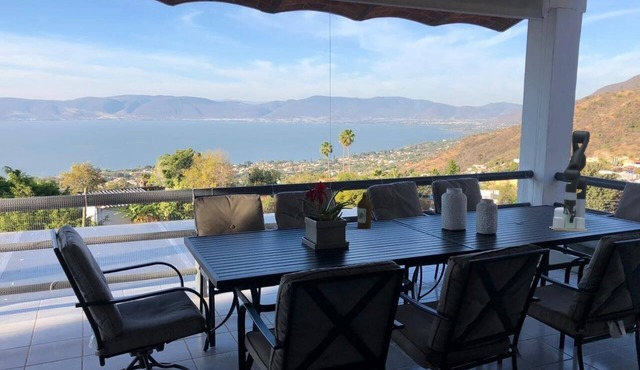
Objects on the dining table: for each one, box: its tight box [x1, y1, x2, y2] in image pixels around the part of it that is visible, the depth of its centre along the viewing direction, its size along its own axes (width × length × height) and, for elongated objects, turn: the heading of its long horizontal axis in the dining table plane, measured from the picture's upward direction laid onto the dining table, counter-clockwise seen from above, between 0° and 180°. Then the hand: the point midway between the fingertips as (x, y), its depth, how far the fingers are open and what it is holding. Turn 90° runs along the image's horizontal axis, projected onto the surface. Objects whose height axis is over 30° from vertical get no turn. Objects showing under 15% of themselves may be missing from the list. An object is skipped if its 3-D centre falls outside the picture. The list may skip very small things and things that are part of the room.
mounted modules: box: [552, 216, 586, 229], centre depth 344 cm, size 6×19×7 cm, turn 86°
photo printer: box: [553, 206, 564, 218], centre depth 364 cm, size 10×4×12 cm, turn 39°
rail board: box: [549, 226, 589, 232], centre depth 345 cm, size 10×22×1 cm, turn 86°
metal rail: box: [550, 226, 587, 229], centre depth 345 cm, size 4×22×1 cm, turn 86°
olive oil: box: [356, 191, 373, 230], centre depth 345 cm, size 11×11×25 cm
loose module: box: [563, 214, 575, 228], centre depth 344 cm, size 4×6×9 cm, turn 85°
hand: (568, 221), depth 344 cm, fingers open, 8 cm apart
